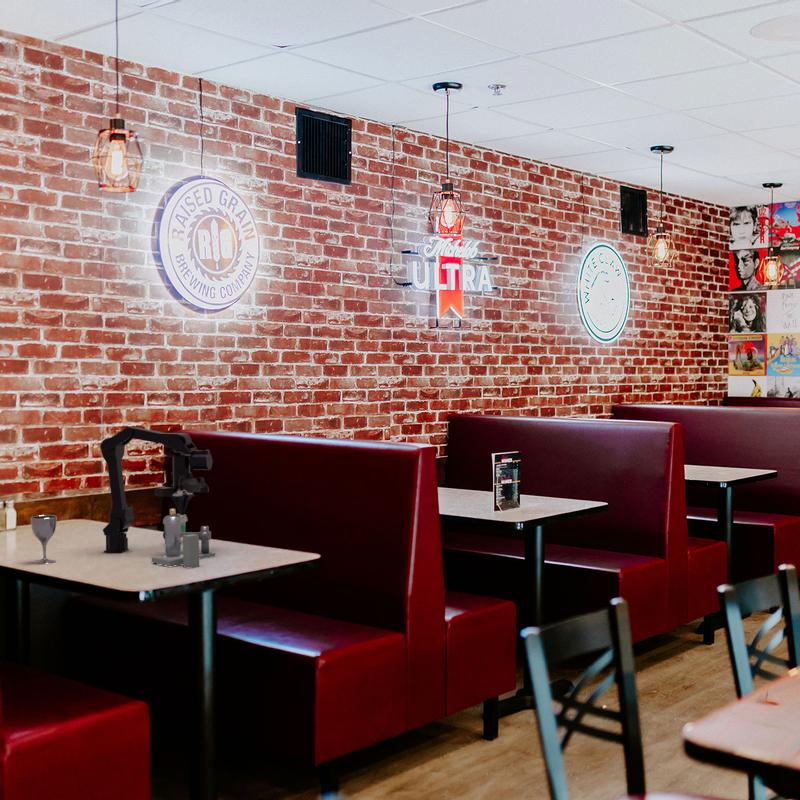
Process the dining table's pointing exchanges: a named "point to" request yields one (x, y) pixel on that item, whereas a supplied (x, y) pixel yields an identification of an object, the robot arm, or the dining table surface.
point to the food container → (182, 523)
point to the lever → (200, 537)
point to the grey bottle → (172, 535)
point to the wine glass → (44, 532)
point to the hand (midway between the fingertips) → (182, 515)
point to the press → (185, 553)
